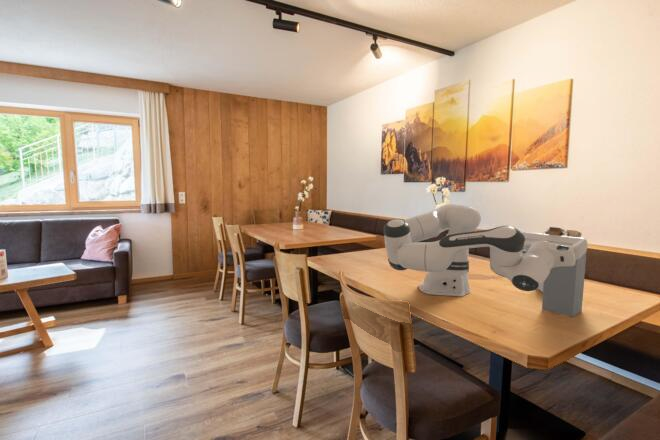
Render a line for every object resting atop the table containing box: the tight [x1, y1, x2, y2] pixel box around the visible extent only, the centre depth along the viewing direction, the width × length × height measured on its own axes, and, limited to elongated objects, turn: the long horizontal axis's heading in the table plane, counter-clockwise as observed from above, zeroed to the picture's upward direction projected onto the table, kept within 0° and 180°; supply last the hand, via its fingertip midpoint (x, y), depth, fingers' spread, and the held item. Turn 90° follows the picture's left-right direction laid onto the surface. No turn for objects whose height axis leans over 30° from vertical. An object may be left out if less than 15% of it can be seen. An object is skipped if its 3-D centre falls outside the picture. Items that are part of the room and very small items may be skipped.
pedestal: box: [541, 249, 588, 318], centre depth 127 cm, size 10×10×26 cm
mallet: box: [548, 226, 582, 238], centre depth 122 cm, size 17×7×4 cm, turn 128°
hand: (557, 230), depth 119 cm, fingers closed on mallet, 3 cm apart
